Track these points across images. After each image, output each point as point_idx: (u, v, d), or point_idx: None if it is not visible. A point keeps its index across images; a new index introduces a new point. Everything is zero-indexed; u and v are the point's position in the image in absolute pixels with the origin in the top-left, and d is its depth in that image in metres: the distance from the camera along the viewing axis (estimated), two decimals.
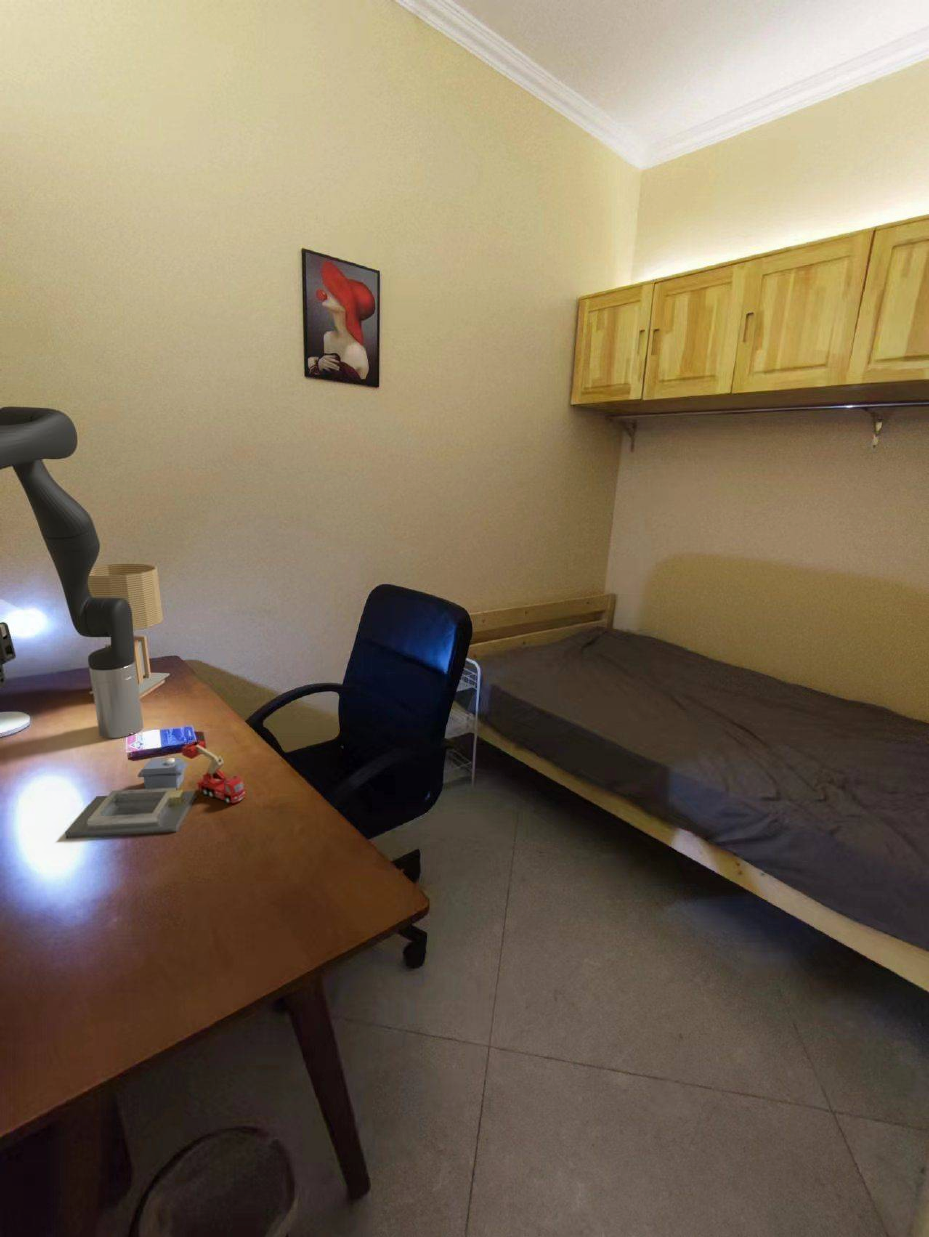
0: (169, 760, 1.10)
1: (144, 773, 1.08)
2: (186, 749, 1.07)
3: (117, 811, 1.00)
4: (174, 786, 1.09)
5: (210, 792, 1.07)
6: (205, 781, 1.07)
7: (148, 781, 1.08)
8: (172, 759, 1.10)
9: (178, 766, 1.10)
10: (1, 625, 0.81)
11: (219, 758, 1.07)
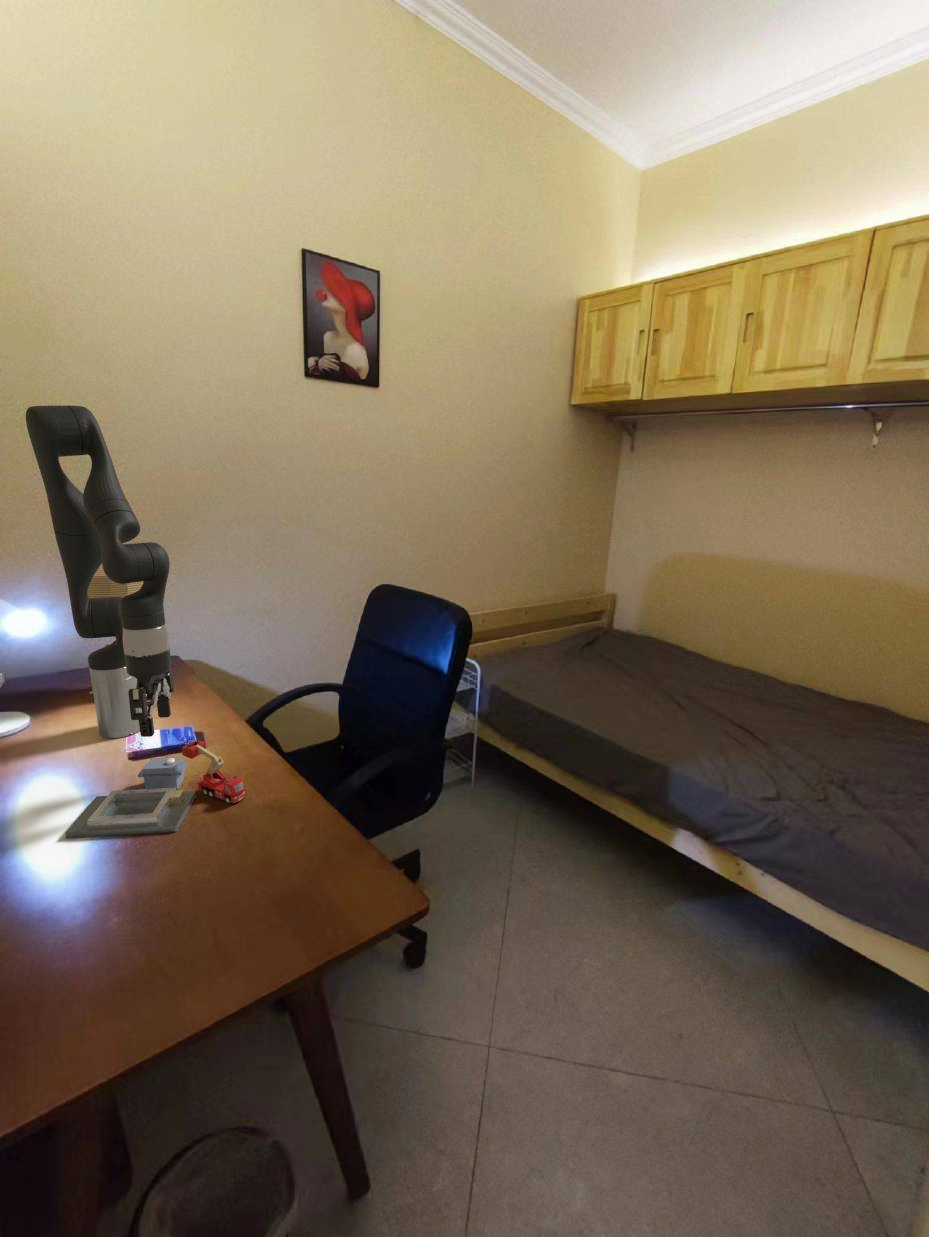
0: (169, 760, 1.10)
1: (144, 773, 1.08)
2: (186, 749, 1.07)
3: (117, 811, 1.00)
4: (174, 786, 1.09)
5: (210, 792, 1.07)
6: (205, 781, 1.07)
7: (148, 781, 1.08)
8: (172, 759, 1.10)
9: (178, 766, 1.10)
10: None
11: (219, 758, 1.07)
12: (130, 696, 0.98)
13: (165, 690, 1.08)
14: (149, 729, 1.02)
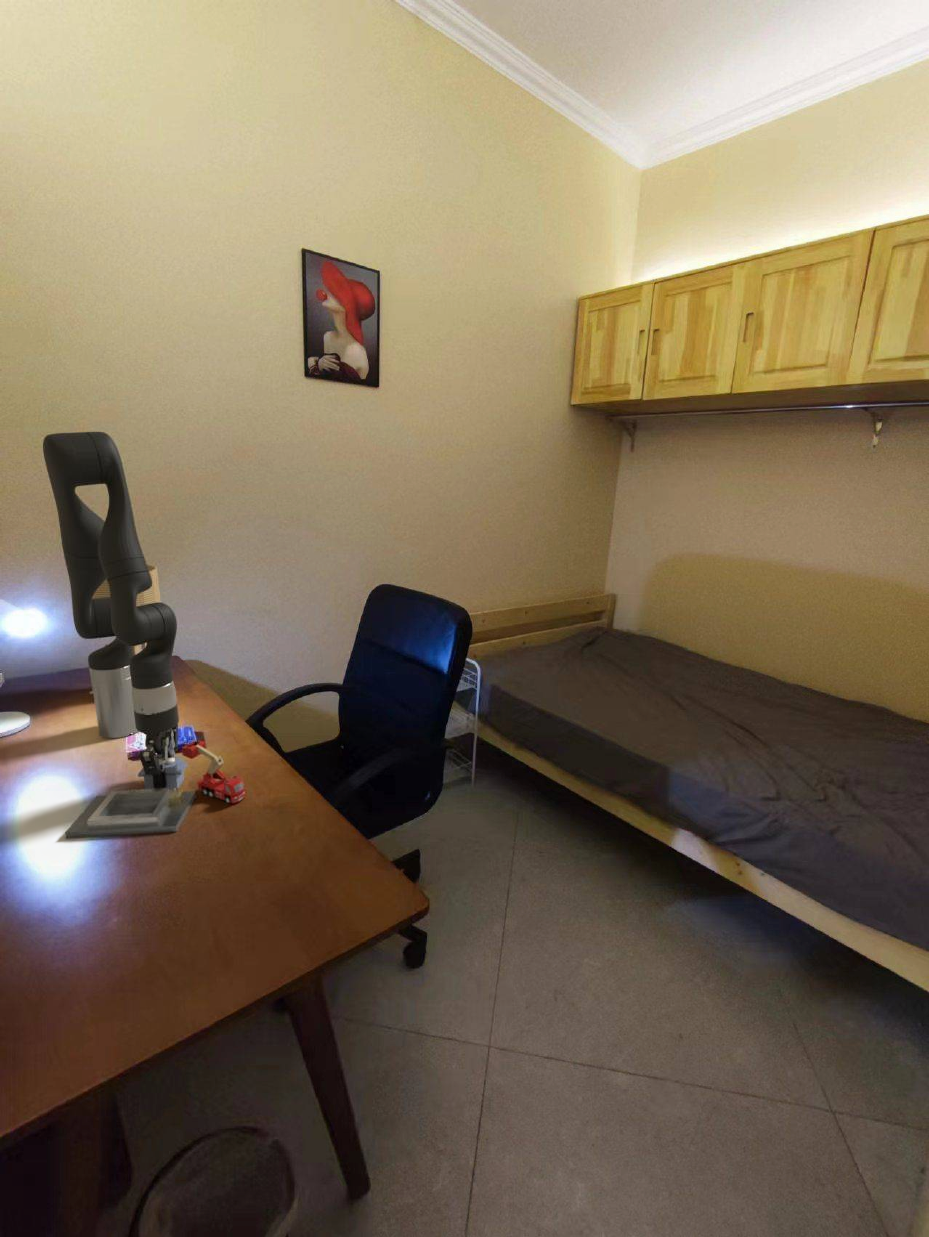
0: (169, 759, 1.10)
1: (144, 772, 1.08)
2: (186, 749, 1.07)
3: (117, 811, 1.00)
4: (174, 786, 1.09)
5: (210, 792, 1.07)
6: (205, 781, 1.07)
7: (148, 780, 1.08)
8: (172, 759, 1.10)
9: (178, 766, 1.10)
10: None
11: (219, 758, 1.07)
12: (141, 759, 1.02)
13: (171, 745, 1.11)
14: (162, 781, 1.08)
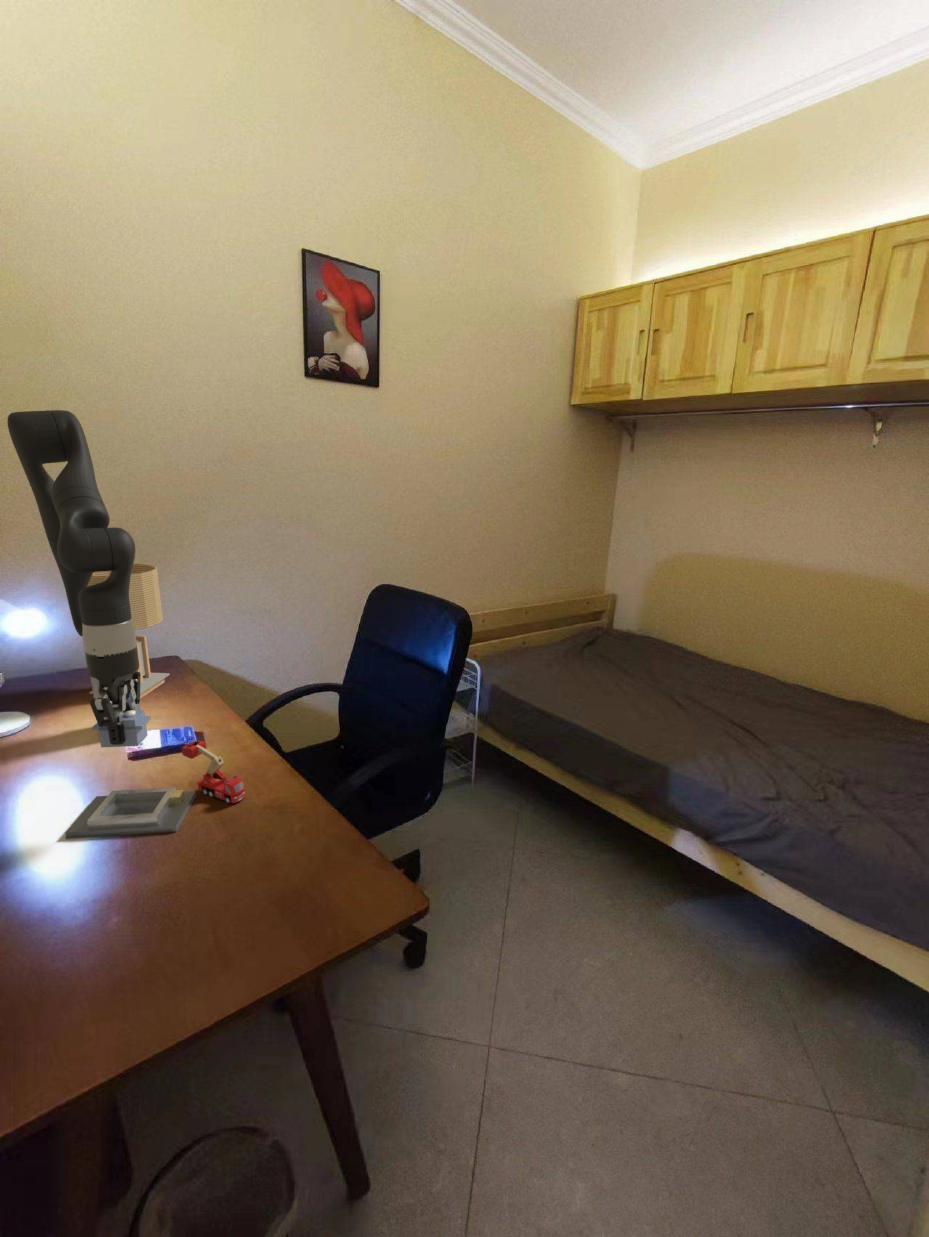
0: (128, 712, 0.96)
1: None
2: (186, 749, 1.07)
3: (117, 811, 1.00)
4: (134, 742, 0.95)
5: (210, 792, 1.07)
6: (205, 781, 1.07)
7: (104, 735, 0.94)
8: (132, 711, 0.96)
9: (139, 719, 0.96)
10: None
11: (219, 758, 1.07)
12: (93, 707, 0.88)
13: (131, 696, 0.96)
14: (119, 736, 0.94)
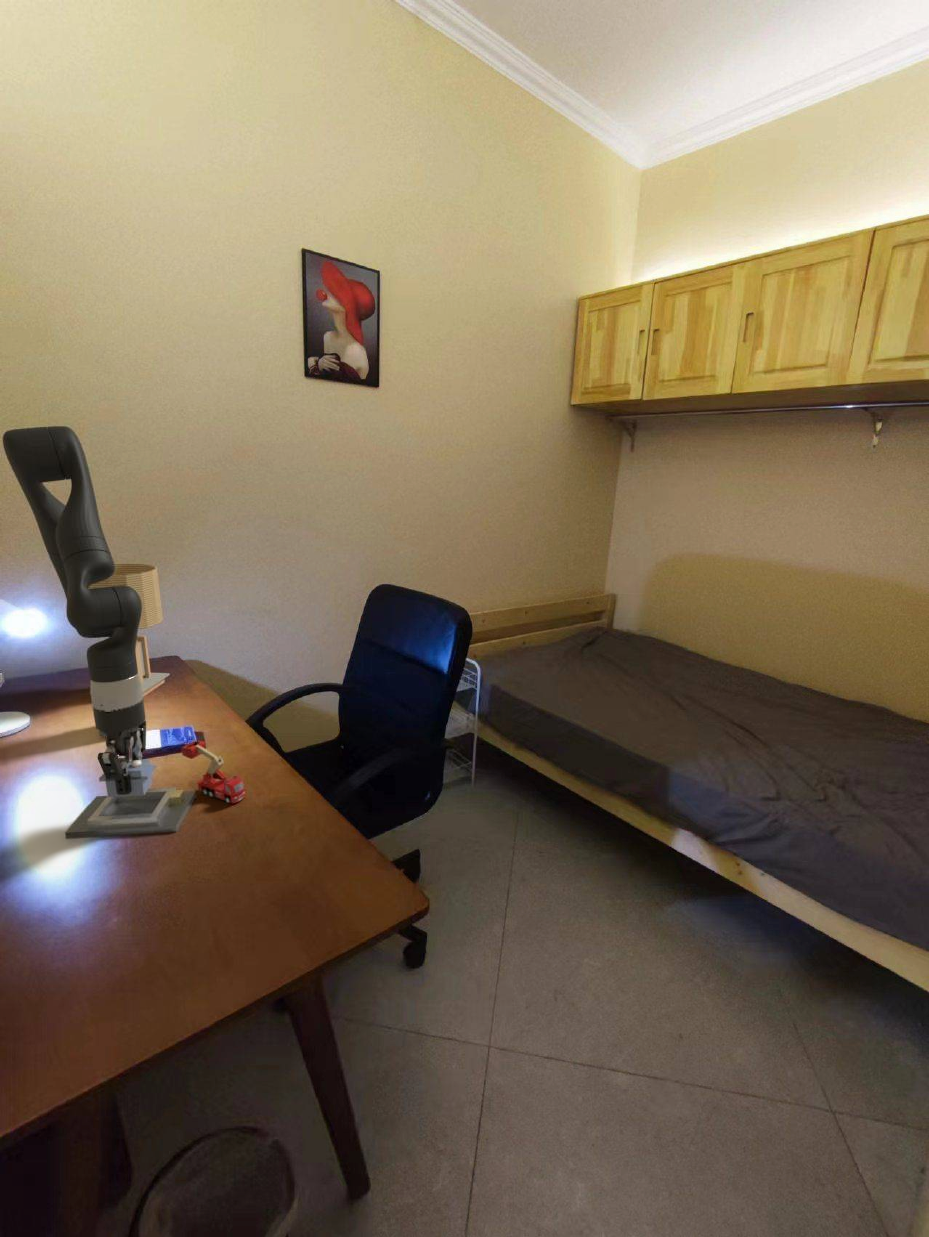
0: (135, 762, 0.98)
1: None
2: (186, 749, 1.07)
3: (117, 811, 1.00)
4: (140, 791, 0.98)
5: (210, 792, 1.07)
6: (205, 781, 1.07)
7: (111, 786, 0.96)
8: (138, 761, 0.98)
9: (145, 769, 0.98)
10: None
11: (219, 758, 1.07)
12: (100, 761, 0.91)
13: (137, 746, 0.99)
14: (126, 787, 0.96)
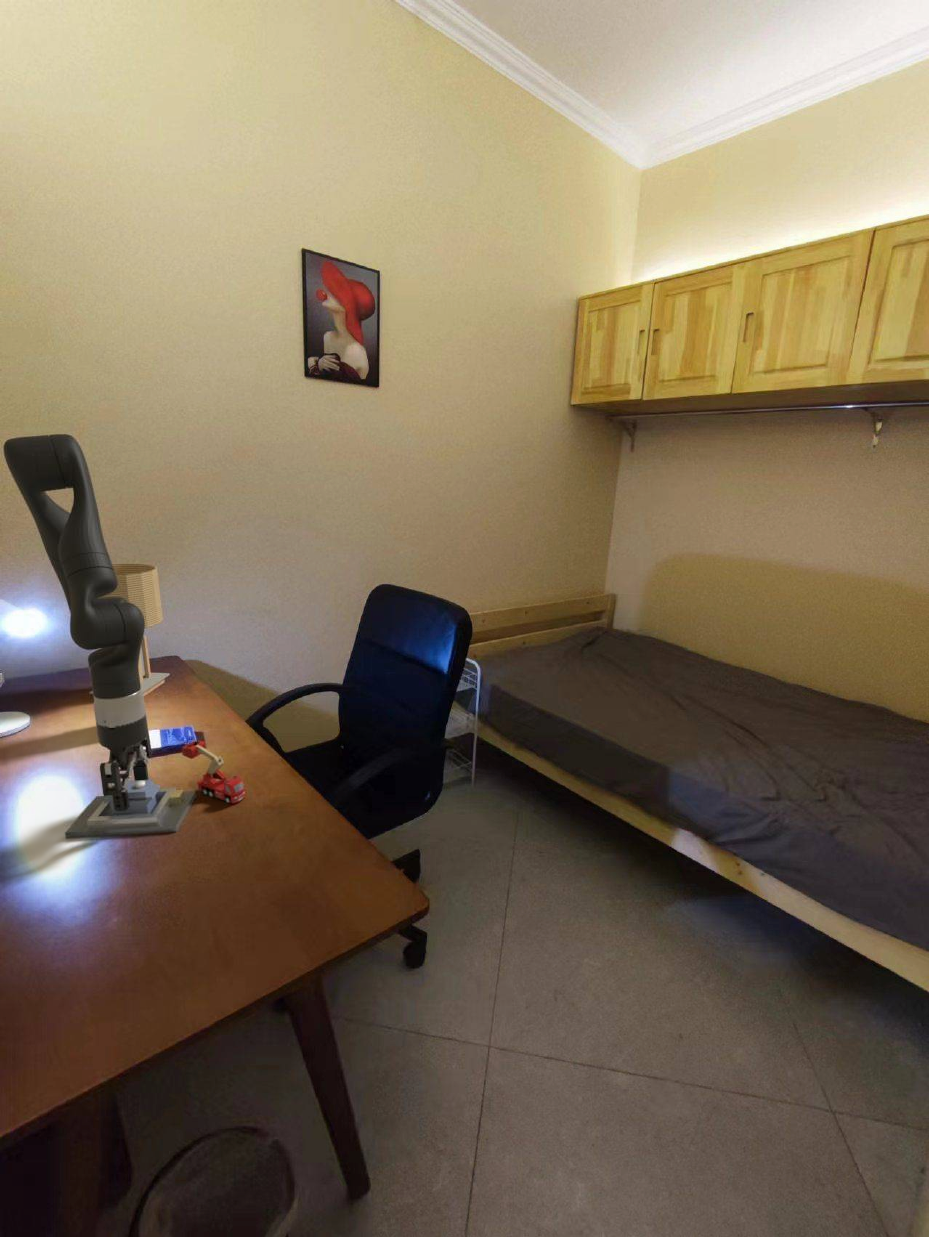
0: (138, 783, 0.99)
1: (110, 798, 0.97)
2: (186, 749, 1.07)
3: None
4: (145, 812, 0.99)
5: (210, 792, 1.07)
6: (205, 781, 1.07)
7: None
8: (142, 782, 1.00)
9: (149, 789, 1.00)
10: None
11: (219, 758, 1.07)
12: (102, 771, 0.91)
13: (142, 757, 1.00)
14: (124, 803, 0.95)
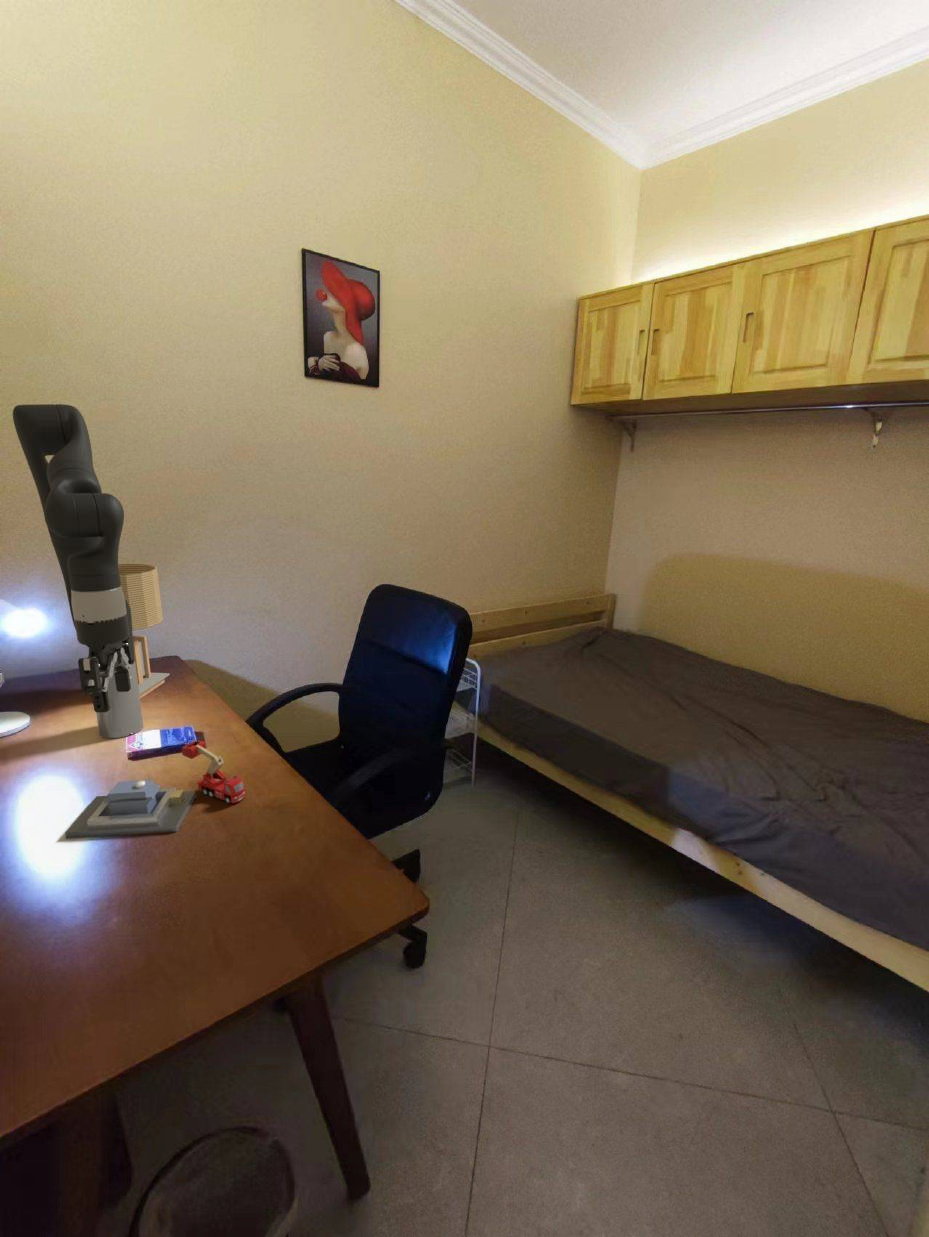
0: (138, 783, 0.99)
1: (110, 798, 0.97)
2: (186, 749, 1.07)
3: None
4: (145, 812, 0.99)
5: (210, 792, 1.07)
6: (205, 781, 1.07)
7: (115, 807, 0.98)
8: (142, 782, 1.00)
9: (149, 789, 1.00)
10: None
11: (219, 758, 1.07)
12: (80, 666, 0.87)
13: (123, 661, 0.97)
14: (104, 704, 0.91)
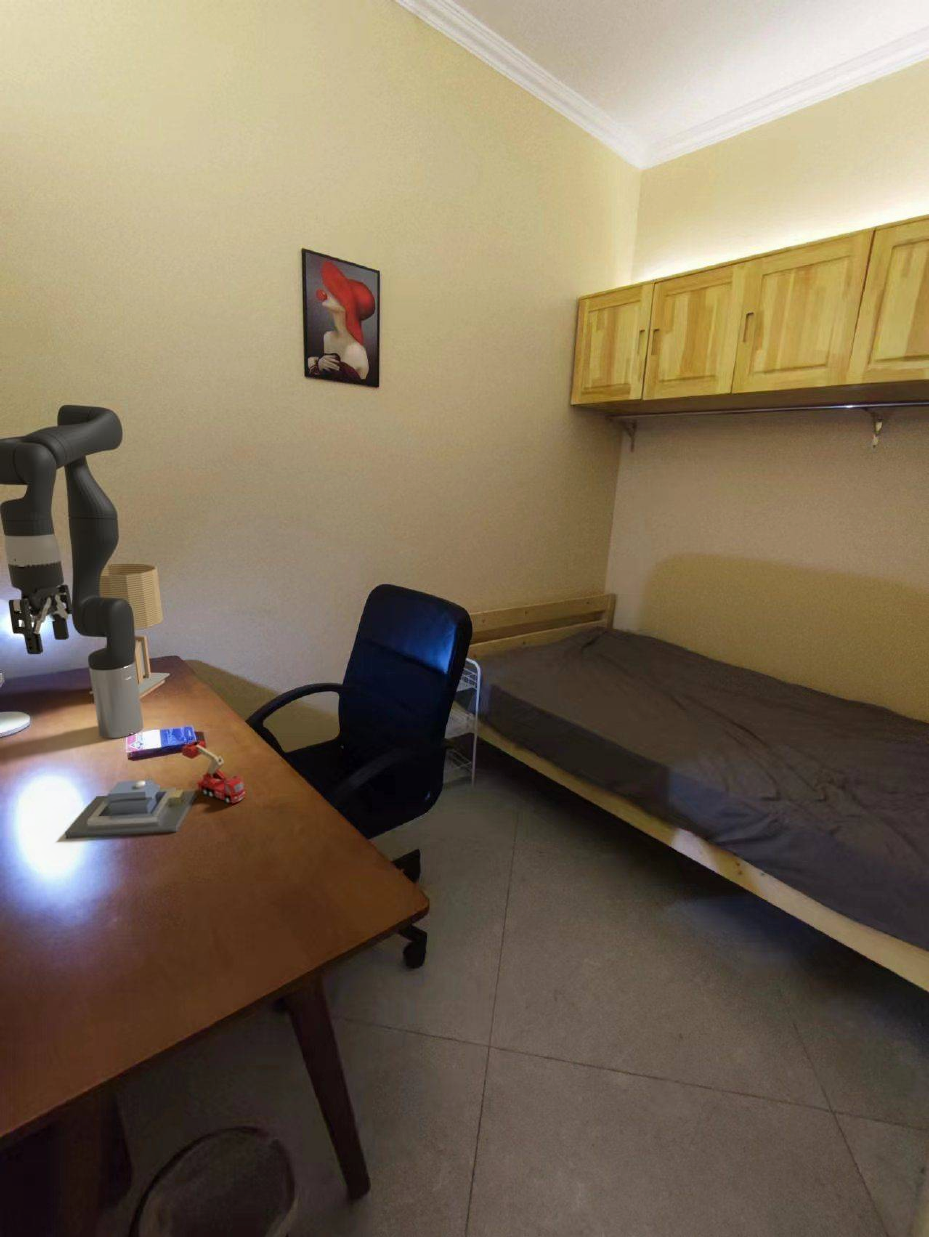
0: (138, 783, 0.99)
1: (110, 798, 0.97)
2: (186, 749, 1.07)
3: None
4: (145, 812, 0.99)
5: (210, 792, 1.07)
6: (205, 781, 1.07)
7: (115, 807, 0.98)
8: (142, 782, 1.00)
9: (149, 789, 1.00)
10: (60, 585, 1.04)
11: (219, 758, 1.07)
12: (10, 607, 0.92)
13: (59, 609, 1.01)
14: (36, 646, 0.96)
